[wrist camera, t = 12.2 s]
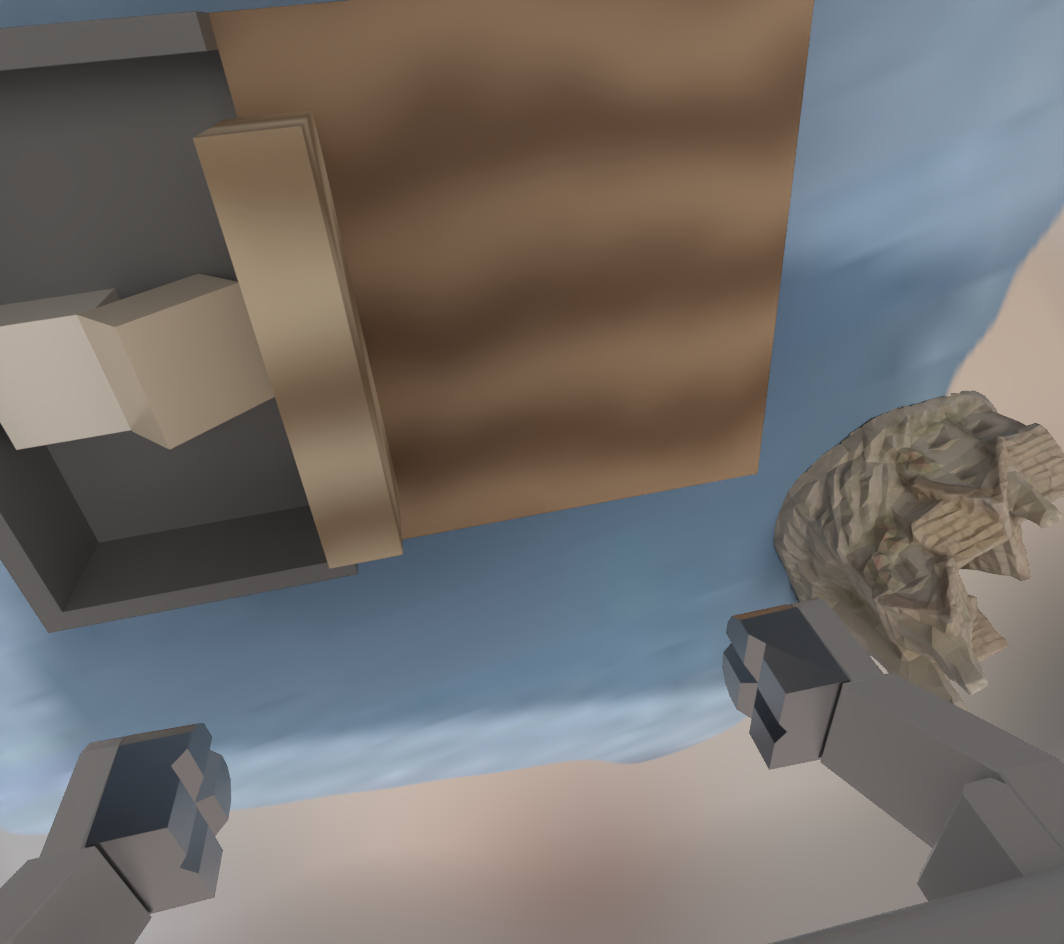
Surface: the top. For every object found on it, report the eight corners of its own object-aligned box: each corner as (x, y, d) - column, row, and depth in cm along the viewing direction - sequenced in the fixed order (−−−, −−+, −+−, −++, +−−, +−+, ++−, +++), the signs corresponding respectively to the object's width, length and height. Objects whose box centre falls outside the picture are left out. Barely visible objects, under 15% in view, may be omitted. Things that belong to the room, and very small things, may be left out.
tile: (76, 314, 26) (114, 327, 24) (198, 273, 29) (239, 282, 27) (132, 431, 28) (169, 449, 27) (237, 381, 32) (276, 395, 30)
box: (-183, 51, 24) (-328, 57, 19) (228, 15, 25) (195, 11, 20) (92, 549, 36) (48, 632, 31) (358, 502, 37) (357, 574, 32)
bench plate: (228, 15, 25) (208, 13, 22) (765, -33, 28) (819, -42, 25) (358, 502, 37) (357, 547, 34) (724, 437, 40) (757, 473, 37)
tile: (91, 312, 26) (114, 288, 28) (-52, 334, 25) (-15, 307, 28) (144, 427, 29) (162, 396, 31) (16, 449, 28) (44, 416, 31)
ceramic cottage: (794, 637, 51) (949, 820, 38) (752, 463, 42) (933, 625, 29) (983, 545, 51) (1198, 696, 38) (979, 354, 42) (1256, 467, 30)
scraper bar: (223, 119, 24) (192, 137, 19) (312, 109, 24) (301, 125, 20) (334, 500, 32) (329, 568, 28) (398, 488, 33) (402, 554, 29)
